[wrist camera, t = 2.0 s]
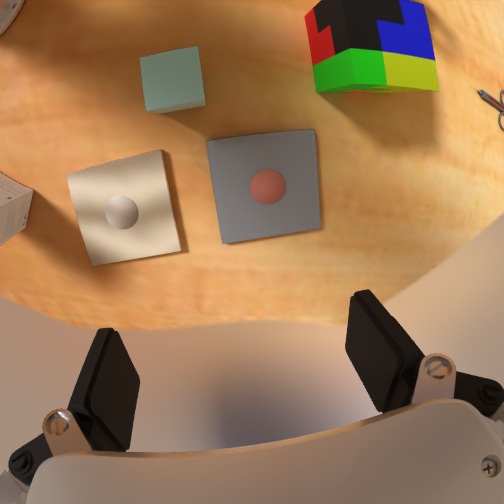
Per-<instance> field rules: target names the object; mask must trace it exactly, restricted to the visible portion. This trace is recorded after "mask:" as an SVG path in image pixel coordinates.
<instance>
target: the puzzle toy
mask: <svg viewBox="0 0 504 504" xmlns="http://www.w3.org/2000/svg"><path fill="white" fill-rule="evenodd" d="M305 22H306V27H307V33H308V38H309V44H310V50H311V57H312V63H313V70H314V77H315V84H316V92H369V93H403V92H427V91H439V85H438V77H437V69H436V63H435V56H434V50H433V45H432V40H431V35H430V30H429V25H428V21H427V17H426V13H425V9H424V5H423V4H420V3H417V2H414V1H410V0H321V1H320V2H319V3H318V4H317V5H316V6H315V7H314V8H313V9H312V10H311V11H310V12H309V13H308V14H307V15H306V16H305Z"/></svg>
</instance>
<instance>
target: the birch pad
mask: <svg viewBox="0 0 504 504" xmlns="http://www.w3.org/2000/svg"><path fill="white" fill-rule="evenodd" d="M66 177H67V181H68V186H69V190H70V194H71V198H72V202H73V206H74V209H75V213H76V217H77V220H78V224H79V227H80V230H81V234H82V237H83V240H84V243H85V246H86V249H87V252H88V255H89V258H90V261H91V264H92V266H97V265H103V264H108V263H114V262H120V261H125V260H131V259H137V258H143V257H148V256H154V255H160V254H166V253H172V252H178V251H181V248H182V247H181V243H180V238H179V234H178V229H177V225H176V220H175V215H174V210H173V205H172V201H171V196H170V190H169V185H168V180H167V175H166V169H165V164H164V158H163V152H162V149H161V150H156V151H152V152H147V153H143V154H138V155H134V156H130V157H126V158H122V159H118V160H114V161H110V162H106V163H103V164H99V165H96V166H92V167H89V168H85V169H82V170H78V171H75V172H72V173H69V174H67V175H66Z"/></svg>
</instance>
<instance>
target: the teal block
mask: <svg viewBox="0 0 504 504" xmlns="http://www.w3.org/2000/svg"><path fill="white" fill-rule="evenodd" d="M139 59H140V68H141V77H142V85H143V93H144V101H145V108H146V111H148V112H154V113H159V114H164V113H168V112H173V111H178V110H184V109H189V108H195V107H201V106H206V101H205V94H204V86H203V78H202V71H201V63H200V57H199V50H198V46H194V47H188V48H182V49H177V50H172V51H167V52H162V53H158V54H153V55H149V56H145V57H141V58H139Z"/></svg>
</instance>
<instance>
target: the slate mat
mask: <svg viewBox="0 0 504 504" xmlns="http://www.w3.org/2000/svg"><path fill="white" fill-rule="evenodd" d="M206 143H207V150H208V157H209V163H210V170H211V177H212V183H213V189H214V196H215V202H216V208H217V214H218V220H219V226H220V232H221V238H222V244H226V243H232V242H238V241H244V240H250V239H257V238H263V237H269V236H276V235H282V234H288V233H295V232H301V231H308V230H314V229H320V203H319V184H318V167H317V153H316V141H315V130H314V129H308V130H294V131H282V132H272V133H262V134H253V135H245V136H237V137H230V138H223V139H216V140H210V141H206Z"/></svg>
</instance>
